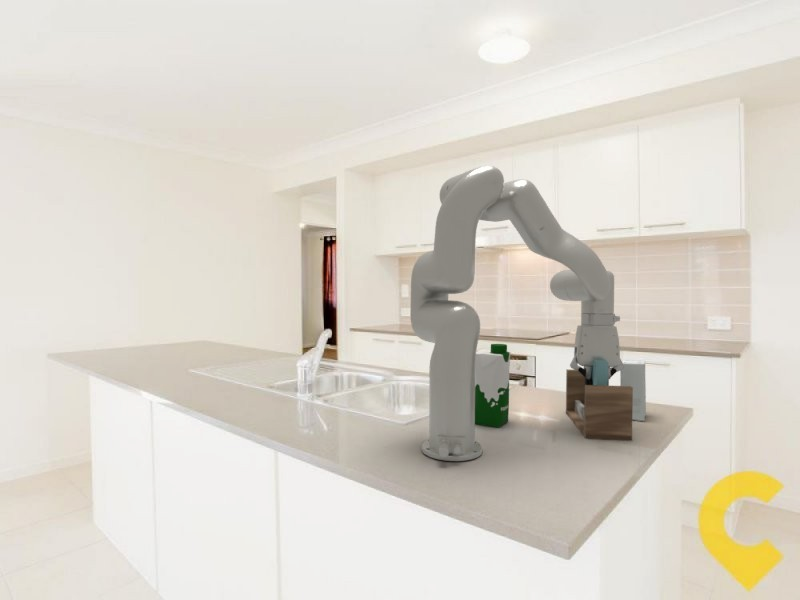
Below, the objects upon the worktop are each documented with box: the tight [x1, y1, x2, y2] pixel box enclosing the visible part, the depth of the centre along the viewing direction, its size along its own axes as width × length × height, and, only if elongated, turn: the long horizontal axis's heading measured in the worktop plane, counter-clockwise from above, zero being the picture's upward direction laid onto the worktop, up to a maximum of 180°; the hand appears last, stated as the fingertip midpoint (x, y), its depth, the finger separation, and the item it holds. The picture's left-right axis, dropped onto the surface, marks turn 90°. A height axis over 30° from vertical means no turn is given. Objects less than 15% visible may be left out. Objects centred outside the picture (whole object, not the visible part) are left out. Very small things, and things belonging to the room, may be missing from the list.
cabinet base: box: [565, 369, 633, 441], centre depth 119 cm, size 22×10×12 cm, turn 172°
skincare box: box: [619, 359, 647, 422], centre depth 128 cm, size 8×6×15 cm
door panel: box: [591, 360, 608, 386], centre depth 119 cm, size 10×3×12 cm, turn 172°
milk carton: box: [475, 343, 511, 429], centre depth 122 cm, size 9×9×20 cm
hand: (596, 393), depth 119 cm, fingers closed on door panel, 2 cm apart
